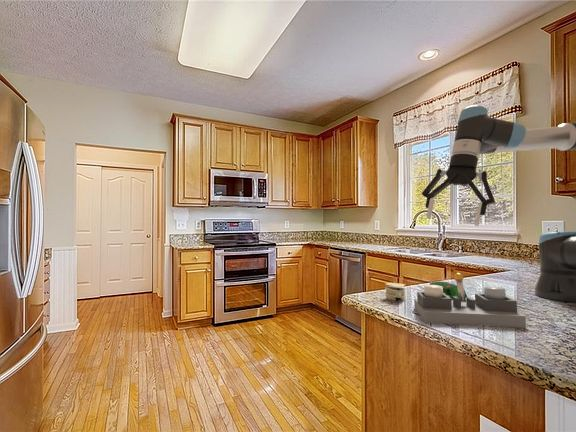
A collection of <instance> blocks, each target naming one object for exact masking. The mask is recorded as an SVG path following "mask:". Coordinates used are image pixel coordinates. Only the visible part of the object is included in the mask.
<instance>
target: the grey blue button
mask: <svg viewBox="0 0 576 432" xmlns="http://www.w3.org/2000/svg"><path fill="white" fill-rule="evenodd" d="M506 291H507V290H506V288H505V287H500V286H491V285H487V286H483V294H484V297H485V298H486V299H494V300H506V296H507V295H506V293H507V292H506Z"/></svg>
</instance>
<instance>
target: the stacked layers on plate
mask: <svg viewBox="0 0 576 432" xmlns="http://www.w3.org/2000/svg"><path fill="white" fill-rule="evenodd" d="M385 285H387V286H385V287H384V289H385V293H384V295H385V299H387V300H392V301H397V300H401V301H405V296H406V293H405V290H406V288H405V287H404V286H406V284H405V283H400V282H399V283H397V282H387V283H385Z"/></svg>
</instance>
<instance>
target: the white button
mask: <svg viewBox="0 0 576 432" xmlns="http://www.w3.org/2000/svg"><path fill="white" fill-rule="evenodd" d="M423 292H424V296H425V297H436V298H443V287H442V286H438V285H429V284H424V285H423Z"/></svg>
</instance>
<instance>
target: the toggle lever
mask: <svg viewBox="0 0 576 432" xmlns="http://www.w3.org/2000/svg"><path fill="white" fill-rule="evenodd" d="M464 278H465V277H464V275H463V273H460V272H456V273H454V275H453V279H454V280H455V282H456V285H457V288H458V294H459V299H461V302H466V298H465V293H464V290H465V287H464V284H463V283H464V282H463V281H464Z"/></svg>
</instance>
